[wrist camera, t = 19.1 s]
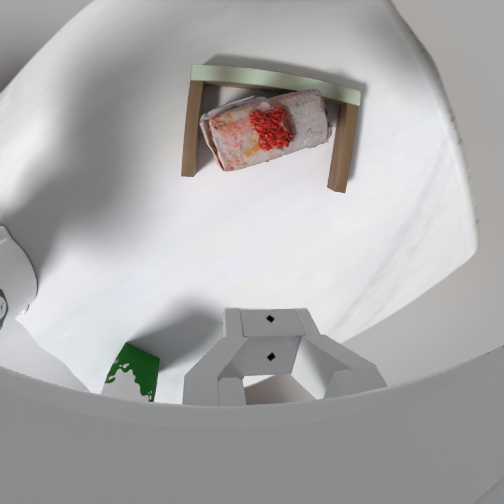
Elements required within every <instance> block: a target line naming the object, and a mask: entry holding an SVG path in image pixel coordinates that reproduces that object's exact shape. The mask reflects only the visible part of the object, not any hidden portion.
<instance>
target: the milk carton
mask: <svg viewBox="0 0 504 504" xmlns="http://www.w3.org/2000/svg"><path fill="white" fill-rule="evenodd" d="M158 368H159V358H157V357H154V356H152V355H150V354H148V353H146V352H143V351H141V350H139V349H137V348H135V347H133V346H131V345H129V344H127V343H125V345H124V346H123V348H122V350H121V351H120V353H119V354H118V356H117V358H116V359H115V361H114V363H113V365H112V367H111V369H110V371H109V373H108V375H107V378H106V381H105V384H104V386H103V389H102V392H101V395H106V396H112V397H118V398H125V399H132V400H139V401H148V402H154V397H155V391H156V386H157V378H158Z"/></svg>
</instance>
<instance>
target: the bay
mask: <svg viewBox="0 0 504 504" xmlns="http://www.w3.org/2000/svg"><path fill="white" fill-rule="evenodd" d="M190 80H191V81H190V88H189V96H188V104H187V113H186V123H185V133H184V145H183V157H182V172H181V176H186V177H194V176H195V174H196V167H197V155H198V143H199V133H200V124H199V123H200V121H201V120H200V119H201V114H202V105H203V96H204V88H205V85H208V86H224V87H236V88H246V89H255V90H263V91H270V92H277V93H283V94H288V93H290V92H297V91H303V90H309V89H318V90H319V91H320V93H321V95H322V97H323V100H324V102H329V103H333V104H337V105H339V108H338V116H337V125H336V132H335V140H334V147H333V154H332V160H331V167H330V173H329V179H328V185H327V187H328V188H330V189H331V190H333V191H335V192H341V193H345V191H346V186H347V180H348V174H349V168H350V162H351V155H352V149H353V142H354V135H355V127H356V119H357V110H358V106H360V98H361V91H357V90H354V89H351V88H347V87H344V86H340V85H336V84H332V83H328V82H324V81H320V80H316V79H311V78H307V77H302V76H297V75H291V74H286V73H280V72H273V71H267V70H259V69H251V68H242V67H231V66H217V65H192V69H191V76H190Z"/></svg>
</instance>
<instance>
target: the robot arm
mask: <svg viewBox="0 0 504 504" xmlns="http://www.w3.org/2000/svg"><path fill="white" fill-rule="evenodd" d="M36 293H37V281H36V276H35V273H34V270H33V267H32V265H31V263H30V261H29V259H28V257H27V255H26V254H25V252H24V251H23V250H22V249H21V247H20V246H19V245H18V244H17V243H16V242H15V241H14V240H13V239H12V238H11V236H10V235H9V233H8V231H7V229H6V228H5V227H4V226H0V329H1V328H5V327H7V326H8V325H9V324H10V323H11V322H12V321H13V320H14V319H15V318H16V317H17V316H18V315H19V314H21V315H24V314H25V313H26V312H27V309H28V305H29V304H30V303H31V302H32V301H33V300H34V299H35V297H36ZM278 374H291V375H292V377H294V378H295V379H296V380H297V381H298V382H299V383H300V384H301V385H302V386H303V387H304V388H306V390H307V391H309V392H310V393H311V394H312V395H313V396H314V397H315V398H316V399H317V400H310V401H301V402H292V403H280V404H266V405H246V400H245V394H244V387H243V381H242V379H243V378H244V376H255V375H278ZM0 504H504V345H503V346H501V347H499V348H497V349H495V350H493V351H490V352H488V353H486V354H484V355H481V356H479V357H477V358H474V359H472V360H469V361H467V362H464V363H462V364H459V365H456V366H453V367H451V368H448V369H445V370H442V371H439V372H436V373H433V374H430V375H427V376H424V377H420V378H417V379H414V380H411V381H407V382H403V383H399V384H396V385H392V386H387V384H386V382H385V381H384V379H383V377H382V376H381V374H380V372H379V371H378V369H377V367H376V366H375V365H374V364H373V363H371V362H369V361H368V360H366V359H364V358H363V357H361V356H359V355H358V354H355V353H354V352H352V351H351V350H349V349H347V348H346V347H344V346H342V345H341V344H339V343H337V342H336V341H334V340H332V339H331V338H329V337H327V336H326V335H320V333H319V331H318V329H317V327H316V325H315V323H314V321H313V319H312V317H311V315H310V313H309V311H308V309H306V308H294V309H250V308H225V309H224V320H223V337H222V338H221V339H220V340H219V341H218V342H217V343H216V344H215V345H214V346H213V347H212V348H211V349H210V350H209V351H208V352H207V353H206V354H205V355H204V356H203V357H202V358H201V359H200V360H199V361H198V362H197V363H196V364H195V365H194V366H193V368H192V369H191V370H190V371H189V372H188V373H187V374H186V375H185V377H184V390H183V403H182V404H168V403H157V402H148V401H139V400H132V399H125V398H118V397H112V396H106V395H101V394H95V393H90V392H85V391H81V390H77V389H72V388H68V387H64V386H60V385H57V384H53V383H49V382H46V381H43V380H39V379H36V378H32V377H29V376H26V375H24V374H20V373H18V372H15V371H12V370H9V369H7V368H4V367H2V366H0Z"/></svg>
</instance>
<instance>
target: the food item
mask: <svg viewBox="0 0 504 504" xmlns="http://www.w3.org/2000/svg"><path fill="white" fill-rule="evenodd" d="M255 96H256V95H255ZM253 97H254V96H250V97H247V98H244V99H239V100H236V101H233V102H230V103H226V104H225V105H222V106H220V107H218V108H215V109H212V110H211V111H210V112H208V113H207V114H204V115H202V116H201V119H200V120H201V121H200V123H199V124H200V127H201V129H202V132H203V135H204V138H205V140H206V143H207V145H208V146H209V148H210V149H211V150H212V152H213V153H214V157H215V159H216V162H217V164H218V166H219V167H220V168H221V169H222V170H223V171H234V170H238V169H242V168H246V167H249V166H252V165H256V164H259V163H262V162H268V161H269V160H272V159H276V158H279V157H281V156H283V155H286V154H290V153H293V152H296V151H298V150H300V149H301V150H302V149H303V148H309V149H310V148H313V147H316V146H318V145H319V144H321V143H322V144H323V143H325V142H328V138H329V137H330V136H331V134H332V129H331V128H332V125H331V124H330V121H329V117H328V111H327V108H326V105H325V102H324V100H323V97H322V95H321V93H320V91H319V90H318V89H309V90H303V91H297V92H290V93H288V94H282V95H278V96H275V97H271V98H268V99H267V98H266V97H263V96H260V97H255V98H253Z"/></svg>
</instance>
